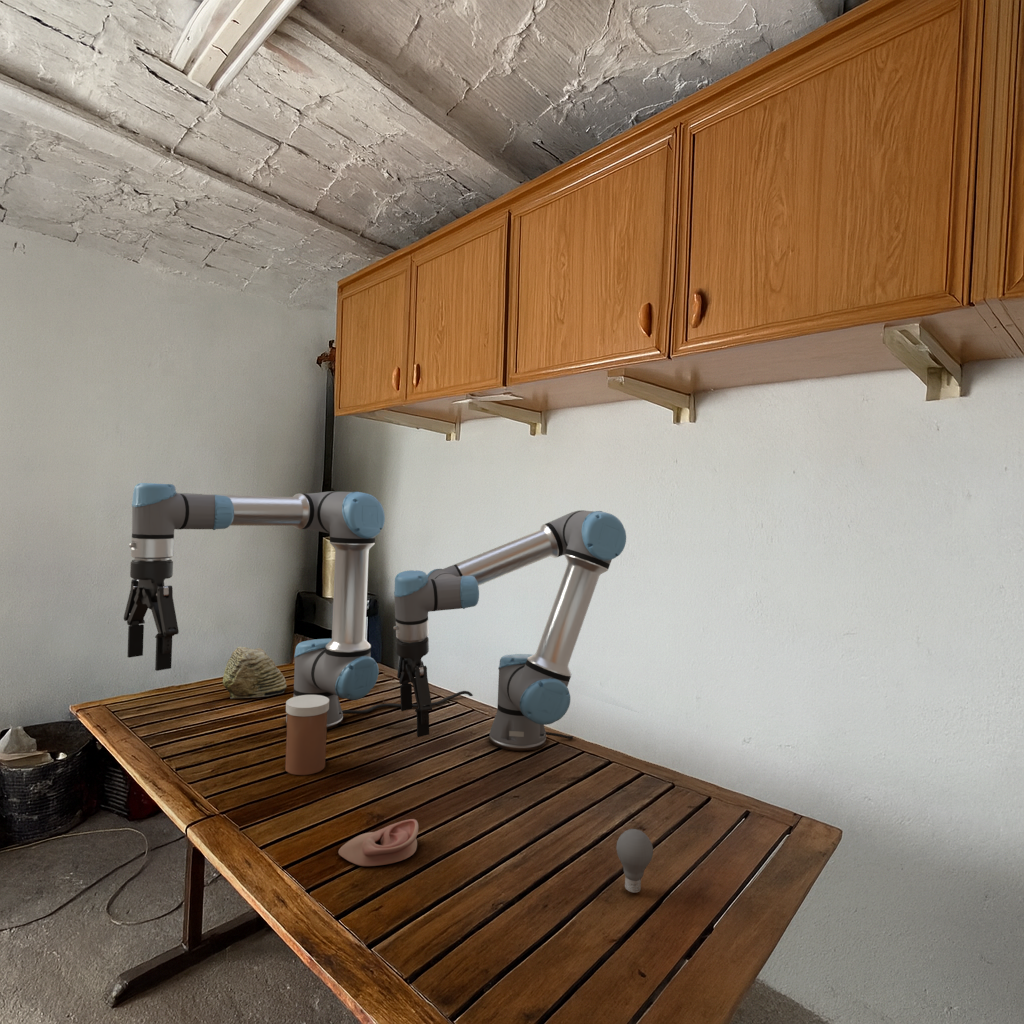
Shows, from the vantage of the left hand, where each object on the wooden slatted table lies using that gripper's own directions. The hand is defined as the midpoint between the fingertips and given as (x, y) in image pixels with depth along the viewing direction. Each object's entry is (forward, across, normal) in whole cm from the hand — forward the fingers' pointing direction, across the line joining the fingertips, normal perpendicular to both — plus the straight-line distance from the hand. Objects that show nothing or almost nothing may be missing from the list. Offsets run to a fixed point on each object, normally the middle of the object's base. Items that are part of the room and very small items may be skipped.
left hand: (148, 662), depth 129 cm
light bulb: (+28, +90, +41) cm, 103 cm away
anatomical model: (+28, +50, +20) cm, 61 cm away
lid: (+13, +10, +31) cm, 35 cm away
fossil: (+28, -47, +50) cm, 74 cm away
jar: (+28, +10, +31) cm, 43 cm away
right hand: (+18, +27, +49) cm, 59 cm away
